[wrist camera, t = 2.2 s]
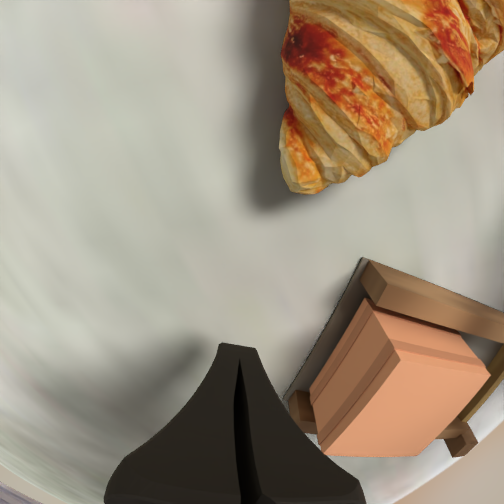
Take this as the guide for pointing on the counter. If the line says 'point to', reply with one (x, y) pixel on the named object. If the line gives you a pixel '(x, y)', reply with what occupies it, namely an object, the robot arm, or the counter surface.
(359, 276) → the brown wooden frame
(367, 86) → the croissant
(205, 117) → the counter surface
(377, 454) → the peach rectangular block
